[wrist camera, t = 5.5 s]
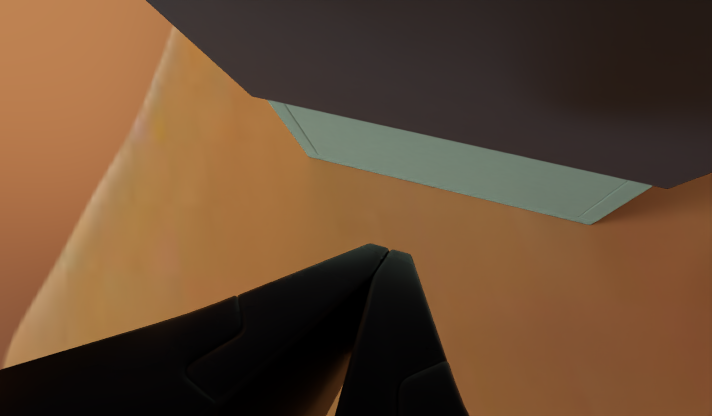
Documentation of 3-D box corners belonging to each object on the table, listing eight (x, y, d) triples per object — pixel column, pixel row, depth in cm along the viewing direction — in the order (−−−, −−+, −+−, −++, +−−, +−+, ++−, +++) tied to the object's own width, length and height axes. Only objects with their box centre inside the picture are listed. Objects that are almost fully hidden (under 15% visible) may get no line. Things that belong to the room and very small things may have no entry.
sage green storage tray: (381, -73, 25) (364, -210, 19) (645, -36, 23) (731, -180, 16) (307, 156, 23) (259, 91, 16) (590, 225, 20) (664, 180, 14)
